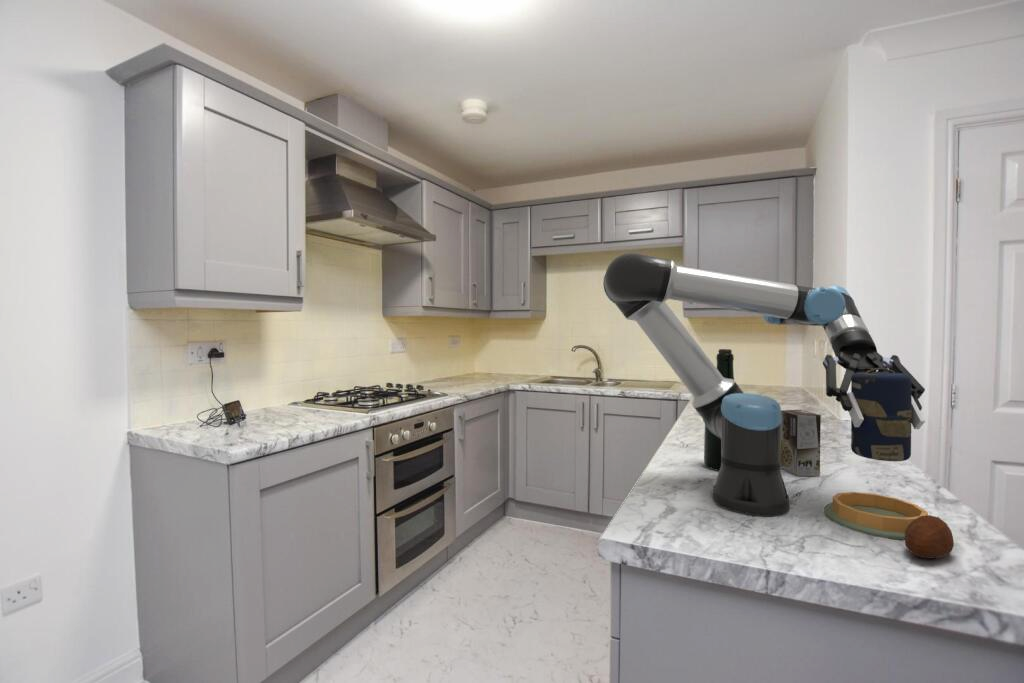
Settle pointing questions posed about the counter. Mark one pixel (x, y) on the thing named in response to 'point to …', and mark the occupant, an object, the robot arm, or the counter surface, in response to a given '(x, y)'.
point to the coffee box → (800, 442)
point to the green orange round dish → (873, 514)
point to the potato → (929, 537)
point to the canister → (882, 415)
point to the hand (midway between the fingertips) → (889, 424)
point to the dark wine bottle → (710, 440)
